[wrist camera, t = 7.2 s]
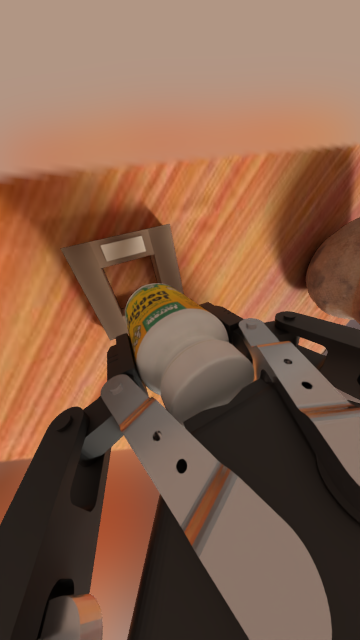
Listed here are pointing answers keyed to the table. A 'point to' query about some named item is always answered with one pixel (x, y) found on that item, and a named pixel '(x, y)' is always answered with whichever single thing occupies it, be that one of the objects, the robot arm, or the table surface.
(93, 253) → the socket holder
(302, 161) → the table surface
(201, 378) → the supplement bottle
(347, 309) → the ceramic bowl
